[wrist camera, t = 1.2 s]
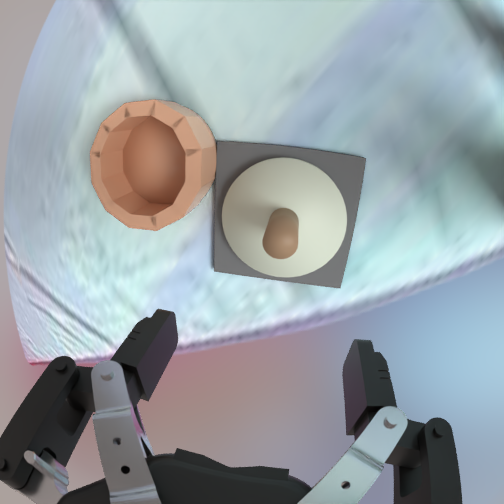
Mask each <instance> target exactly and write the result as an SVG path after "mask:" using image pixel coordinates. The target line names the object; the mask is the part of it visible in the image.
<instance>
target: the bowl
mask: <svg viewBox="0 0 504 504" xmlns="http://www.w3.org/2000/svg"><path fill="white" fill-rule="evenodd" d="M216 160H217V145H216V141H215V138H214V135H213V133H212V131H211V129H210V128H209V126H208V124H207V123H206V122H205V121H204V120H203V118H201V117H200V116H199V115H198V114H197V113H196V112H194V111H193V110H191V109H189V108H187V107H184V106H181V105H179V104H177V103H176V102H171V101H163V100H156V99H155V100H146V101H137V102H129V103H124V104H123V105H122V106H121V107H120V108H118V109H117V110H116V111H115V112H114V113H112V114H111V115H110V116H109V117H108V118H107V119H105V120H104V121H103V122H102V123H101V125H100V128H99V130H98V133H97V135H96V138H95V140H94V143H93V145H92V148H91V151H90V164H91V180H92V185H93V187H94V189H95V191H96V193H97V195H98V197H99V199H100V201H101V203H102V204H103V206H104V208H105V210H106V211H107V212H109V213H110V214H111V215H113V216H114V217H115V218H116V219H118V220H119V221H120V222H122V223H123V224H125V225H126V226H127V227H129V228H136V229H145V230H153V231H158V230H159V229H161V228H163V227H165V226H167V225H169V224H171V223H173V222H175V221H177V220H179V219H181V218H183V217H184V216H185V215H187V214H188V213H189V212H190V211H192V210H193V209H194V208H195V207H196V206H198V205H199V203H200V202H201V200H202V199H203V197H204V196H205V195H206V194H207V192H208V191H209V190H210V188H211V186H212V184H213V182H214V179H215V176H216Z"/></svg>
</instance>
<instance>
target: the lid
mask: <svg viewBox="0 0 504 504" xmlns="http://www.w3.org/2000/svg"><path fill="white" fill-rule="evenodd" d="M222 224H223V230H224V233H225V236H226V239H227V241H228V243H229V245H230V247H231V248H232V250H233V251H234V252H235V254H236V255H237V256H238V257H239V258H240V259H241V260H242V261H243V262H244V263H246V264H247V265H248V266H250V267H251V268H253V269H255V270H257V271H259V272H261V273H264V274H267V275H270V276H275V277H297V276H302V275H305V274H308V273H311V272H313V271H315V270H317V269H319V268H321V267H322V266H323V265H325V264H326V263H327V262H328V261H329V260H330V259H331V258H332V257H333V256H334V255H335V254H336V252H337V251H338V249H339V247H340V246H341V244H342V241H343V239H344V236H345V232H346V226H347V212H346V206H345V203H344V200H343V197H342V195H341V193H340V191H339V189H338V188H337V186H336V185H335V183H334V182H333V181H332V179H331V178H330V177H329V176H328V175H327V174H326V173H325V172H323V171H322V170H321V169H319V168H318V167H316V166H315V165H313V164H311V163H308V162H306V161H303V160H300V159H295V158H286V157H280V158H272V159H268V160H264V161H261V162H259V163H257V164H255V165H253V166H251V167H250V168H248V169H247V170H246V171H244V172H243V173H242V174H241V175H240V176H239V177H238V178H237V179H236V180H235V181H234V182H233V184H232V185H231V187H230V188H229V190H228V192H227V194H226V197H225V199H224V203H223V208H222Z"/></svg>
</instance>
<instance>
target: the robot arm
mask: <svg viewBox="0 0 504 504" xmlns="http://www.w3.org/2000/svg"><path fill="white" fill-rule="evenodd" d="M177 343H178V333H177V325H176V317H175V313H174V312H171V311H167V310H162V309H157V310H156V312H155V313H154V314H153V316H152V317H151V318H148V317H146V318H144V319H143V320H141V321H139V322H138V323H137V324H136V325H135V327H134V328H133V329H132V332H130V334H129V335H128V336H127V338H126V339H125V340H124V342H123V343H122V345H121V346H120V347H119V349H118V350H117V351H116V353H115V354H114V356H113V357H112V358H111V360H107V361H102V362H100V363H98V364H96V366H94V367H82V366H76V364H75V362H74V360H73V359H72V358H70V357H68V356H60V357H57V358H55V359H54V360H53V361H52V362H51V363H50V364H49V365H48V367H47V368H46V370H45V371H44V372H43V374H42V375H41V376H40V378H39V379H38V381H37V382H36V383H35V385H34V386H33V388H32V389H31V391H30V392H29V393H28V395H27V396H26V398H25V399H24V401H23V402H22V404H21V405H20V407H19V408H18V410H17V411H16V413H15V415H14V416H13V418H12V419H11V421H10V423H9V424H8V426H7V427H6V429H5V431H4V432H3V434H2V436H1V438H0V480H1V481H3V482H4V483H5V484H7V485H8V486H9V487H10V488H12V489H14V490H16V491H17V492H19V493H20V494H22V495H24V496H26V497H28V498H29V499H31V500H32V501H33V502H35V503H36V504H357V503H358V502H359V501H360V500H361V498H362V497H363V496H364V495H365V494H366V492H367V491H368V490H369V488H370V487H371V485H372V484H373V483H374V482H375V480H376V479H377V478H378V476H379V475H380V473H381V472H382V470H383V468H384V467H383V464H384V463H387V464H392V465H393V466H394V504H462V493H461V483H460V474H459V466H458V460H457V454H456V448H455V443H454V438H453V432H452V428H451V426H450V424H449V423H448V422H447V421H446V420H444V419H442V418H433V419H431V420H429V421H428V422H427V423H426V424H424V423H420V422H415V421H411V420H409V419H407V417H406V415H405V414H404V412H403V411H402V410H400V409H399V408H397V405H396V400H395V395H394V391H393V386H392V382H391V379H390V373H389V372H388V370H389V369H388V365H387V362H386V360H385V358H384V357H383V356H382V354H381V353H380V352H374V349H373V345H372V342H371V341H370V340H359V339H355V340H354V341H353V343H352V345H351V348H350V350H349V353H348V355H347V357H346V360H345V363H344V366H343V386H344V398H345V399H344V400H345V416H346V435H354V436H355V442H354V443H353V444H352V445H351V446H350V448H349V449H348V450H347V451H346V452H345V454H344V455H343V456H342V457H341V458H340V459H339V460H338V462H337V463H336V464H335V465H334V466H333V467H332V468H331V469H330V470H329V471H328V472H327V473H326V475H325V476H324V477H323V478H322V479H321V480H320V481H319V482H318V483H317V484H316V485H315V486H314V487H313V488H311V487H310V486H309V485H307V484H306V483H305V482H303V481H301V480H299V479H298V478H295V477H293V476H290V475H288V474H289V469H281V468H272V467H264V466H256V467H238V468H237V467H236V468H231V467H228V466H225V465H223V464H221V463H219V462H216V461H214V460H212V459H210V458H208V457H206V456H204V455H201V454H196V453H193V452H189V451H186V450H182V449H178V448H177V449H176V452H175V454H172V453H170V454H159V455H155V454H154V452H153V449H152V447H151V445H150V443H149V440H148V438H147V435H146V431H145V429H144V425H143V423H142V419H141V415H140V412H139V409H138V406H137V404H138V402H139V400H140V398H141V399H143V400H146V401H149V399H150V397H151V395H152V393H153V391H154V389H155V388H156V386H157V384H158V382H159V380H160V378H161V376H162V374H163V372H164V370H165V368H166V366H167V364H168V362H169V361H170V359H171V357H172V355H173V353H174V351H175V349H176V347H177ZM93 412H96V414H93V424H94V430H95V435H96V440H97V445H98V450H99V454H100V459H101V463H102V467H103V471H104V474H105V478H104V479H101V480H99V481H96V482H94V483H92V484H89V485H86V486H84V487H82V488H78V489H76V490H73V491H70V492H68V490H67V486H68V485H69V480H68V478H69V477H68V472H67V470H66V468H65V467H66V465H67V463H68V461H69V459H70V456H71V454H72V452H73V450H74V448H75V446H76V444H77V442H78V440H79V438H80V436H81V434H82V432H83V430H84V428H85V427H86V425H87V423H88V421H89V419H90V417H91V415H92V413H93Z"/></svg>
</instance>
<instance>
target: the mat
mask: <svg viewBox="0 0 504 504" xmlns="http://www.w3.org/2000/svg"><path fill="white" fill-rule="evenodd" d="M280 157H286V158H295V159H300V160H303V161H306V162H308V163H311V164H313V165H315V166H316V167H318V168H319V169H321V170H322V171H323V172H325V173H326V174H327V175H328V176H329V177H330V178H331V179H332V181H333V182H334V183H335V185H336V186H337V188H338V189H339V191H340V193H341V195H342V197H343V200H344V203H345V206H346V212H347V226H346V232H345V236H344V239H343V241H342V244H341V246H340V247H339V249H338V251H337V252H336V254H335V255H334V256H333V257H332V258H331V259H330V260H329V261H328V262H327V263H326V264H325V265H323V266H322V267H321V268H319V269H317V270H315V271H313V272H311V273H308V274H305V275H302V276H297V277H275V276H270V275H267V274H264V273H261V272H259V271H257V270H255V269H253V268H251V267H250V266H248V265H247V264H246V263H244V262H243V261H242V260H241V259H240V258H239V257H238V256H237V255H236V254H235V252H234V251H233V250H232V248H231V247H230V245H229V243H228V241H227V239H226V236H225V233H224V230H223V224H222V208H223V203H224V199H225V197H226V194H227V192H228V190H229V188H230V187H231V185H232V184H233V182H234V181H235V180H236V179H237V178H238V177H239V176H240V175H241V174H242V173H243V172H244V171H246V170H247V169H248V168H250V167H251V166H253V165H255V164H257V163H259V162H261V161H264V160H268V159H272V158H280ZM365 162H366V158H363V157H357V156H352V155H346V154H340V153H334V152H327V151H320V150H313V149H306V148H298V147H289V146H279V145H269V144H257V143H243V142H224V141H218V142H217V160H216V188H215V232H214V271H215V272H222V273H229V274H235V275H242V276H249V277H257V278H264V279H271V280H278V281H286V282H294V283H301V284H309V285H317V286H325V287H333V288H340V287H341V283H342V279H343V275H344V271H345V267H346V263H347V258H348V254H349V250H350V245H351V241H352V236H353V231H354V226H355V221H356V216H357V211H358V205H359V200H360V194H361V188H362V182H363V175H364V169H365Z"/></svg>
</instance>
